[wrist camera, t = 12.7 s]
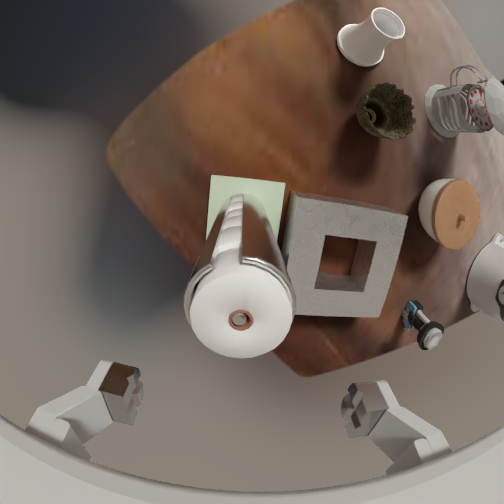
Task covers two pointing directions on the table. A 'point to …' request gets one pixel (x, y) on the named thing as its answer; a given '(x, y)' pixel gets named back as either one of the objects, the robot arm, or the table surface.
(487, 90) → the french press
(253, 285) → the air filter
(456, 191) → the lidded jar
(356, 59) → the vase
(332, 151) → the table surface
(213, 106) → the table surface
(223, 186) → the pad
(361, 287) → the bore block
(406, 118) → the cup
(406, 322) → the push button
